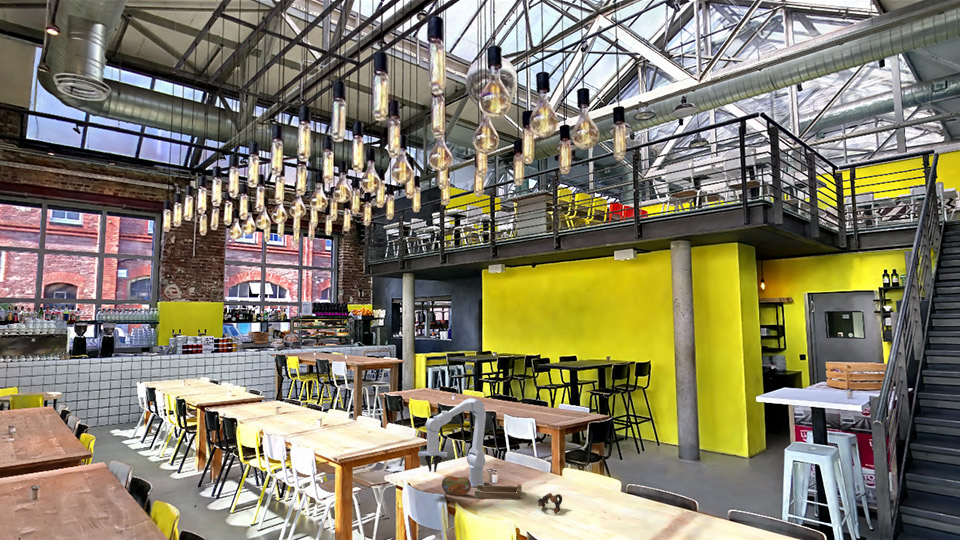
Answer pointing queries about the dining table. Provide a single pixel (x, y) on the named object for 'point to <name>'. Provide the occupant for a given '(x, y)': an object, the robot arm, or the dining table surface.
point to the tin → (456, 485)
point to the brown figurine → (553, 500)
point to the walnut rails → (498, 491)
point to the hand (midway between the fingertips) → (432, 471)
